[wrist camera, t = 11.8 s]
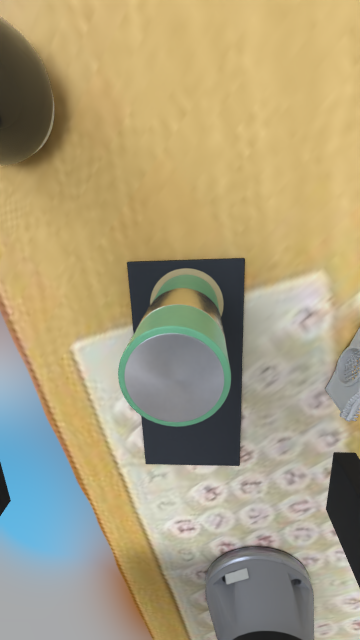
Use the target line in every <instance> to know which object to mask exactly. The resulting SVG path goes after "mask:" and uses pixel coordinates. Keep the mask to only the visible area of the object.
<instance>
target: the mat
mask: <svg viewBox="0 0 360 640" xmlns="http://www.w3.org/2000/svg"><path fill="white" fill-rule="evenodd" d="M127 267H128V277H129V288H130V299H131V309H132V320H133V331H134V333H135V332H136V329H137V327H138V325H139V324H140V322H141V320H142V318H143V317H144V315H145V313H146V311H147V310H148V308H149V306H150V305H151V303H152V302H153V300H154V298H155V297H156V295H157V293H158V291H159V290H160V288H161V287H162V285H163V284H164V283H165V282H166V281H168V280H169V279H171V278H173V277H175V276H179V275H194V276H198V277H200V278H202V279H204V280H205V281H206V282H208V283H209V284H210V285H211V287H212V288H213V289H214V291H215V293H216V296H217V300H218V306H219V311H220V315H221V319H222V325H223V330H224V335H225V340H226V349H227V354H228V360H229V365H230V371H231V385H230V390H229V393H228V395H227V398H226V400H225V401H224V403H223V404H222V406H221V407H220V408H219V409H218V410H217V411H216V412H215V413H214V414H213V415H211V416H210V417H209V418H207V419H205V420H203V421H201V422H199V423H196V424H192V425H188V426H178V427H176V426H166V425H161V424H158V423H155V422H152V421H150V420H148V419H146V418H144V417H143V416H142V427H143V438H144V448H145V459H146V464H171V465H226V466H239V465H240V426H241V387H242V347H243V308H244V268H245V259H244V258H232V259H201V260H170V261H138V262H127Z"/></svg>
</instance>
